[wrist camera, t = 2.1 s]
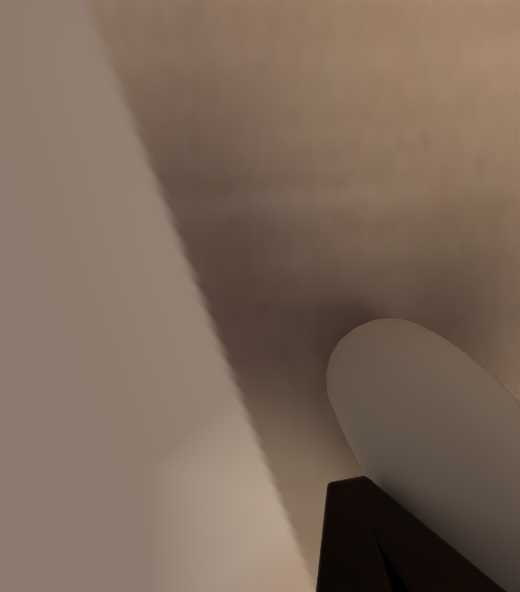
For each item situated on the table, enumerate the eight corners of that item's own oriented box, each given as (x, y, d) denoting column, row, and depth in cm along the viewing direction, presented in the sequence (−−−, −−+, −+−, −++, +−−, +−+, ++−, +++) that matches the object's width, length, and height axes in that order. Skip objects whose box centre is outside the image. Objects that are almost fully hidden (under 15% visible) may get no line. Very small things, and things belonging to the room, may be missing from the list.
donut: (276, 314, 14) (408, 616, 4) (362, 261, 13) (724, 443, 4) (399, 505, 16) (655, 962, 7) (472, 463, 16) (847, 874, 6)
